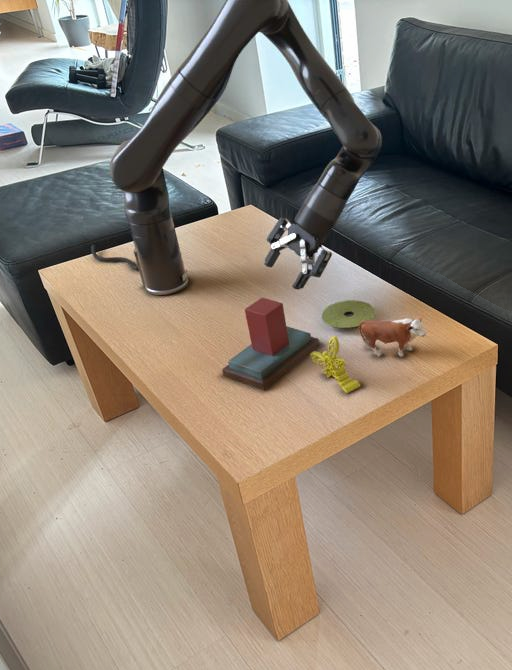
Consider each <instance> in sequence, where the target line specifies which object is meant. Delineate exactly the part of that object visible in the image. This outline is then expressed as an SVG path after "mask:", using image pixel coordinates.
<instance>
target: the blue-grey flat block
mask: <svg viewBox="0 0 512 670" xmlns="http://www.w3.org/2000/svg"><path fill="white" fill-rule="evenodd" d="M286 327H287V333H288V339H289V344H288V345H286V346H285V347H284V348H283V349H281V350H280V351H279V352H277V353H276V354H275V355H274V356H271V355H268V354H265V353H262V352H259V351H256V350H253V349H252V344H249V345H248V346H246V347H245V348H244V349H243V350H241V351H240V352H239V353H237V354H236V355H235V356H233V357H232V358H230V359H229V360H227V361H228V364H227V365H226V366H224V367H223V368H222V369H221V371H222V375H223V377H224V378H226V379H227V378H228V379H231V380H232V381H233V380H234V381H236V382H239V383H242V384H245V385H247V386H250V387H253V388H256V389H260V390H262V391H265V390H267V389H268V388H269V387H270V386H272V385H273V384H274V383H276V381H278V380H279V379H280V378H281V377H283V376H284V375H285V374H286V373H288V372H289V371H290V370H291V369H293V368H294V367H295V366H296V365H297V364H298V363H300V362H301V361H302V360H303V359H305V358H306V357H307V356H309V355H310V354H311V353H312V352H314V351H315V350H316V349H317V348H319V346H320V340H319V338H317V337H314V336H312V333H310V332H308V331H304V330H301V329H297V328H294V327H292V326H287V325H286Z"/></svg>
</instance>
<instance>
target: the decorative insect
mask: <svg viewBox="0 0 512 670" xmlns="http://www.w3.org/2000/svg"><path fill="white" fill-rule="evenodd" d="M339 351H340V341H339V338H338V337H337V336H335V335H334V336H333V335H332V337H330V338H329V341H328V350H325V351H323V352H322V353H321V352H319V351H315V350H313V351H312V352H311V353H309V355H310V358H311V360H312V361H313V362H314V363H315V364H317V365H320V366H321V365H324V367H323V373H324V375H326V377H327V378H330V377H333V378H335V381H336V383H338V386H339V387H340V388H341V389H342V390H343V392H344V393H346V394H349V393H350V392H352V391H354V390H357V389H358V388H360V387H361V384H360V382H359V381H358V380H357V379H352V378H351V377H349V375H348V373H347V371H346V367H347V363H346V362H345V360H344V359H343V358H342V357H339V356H338V354H339ZM317 357H318V358H317Z"/></svg>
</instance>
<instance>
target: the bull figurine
mask: <svg viewBox="0 0 512 670" xmlns="http://www.w3.org/2000/svg"><path fill="white" fill-rule="evenodd" d="M421 321H422V317H419V319H417V318H416V319H414V320H413V319H411V318H403V319H395V320H381V319H371V320H365V321H362V322H361V323H360V324H359V326H358V332H359V335H360V337H361V338H362V341H363V344H364V347H365V348H366V349H367V350H372V352H373V355H374V356H375V355H376V356H377V357H378V358H379V357H382V356H383V354H382V352H381V351H379V350H378V348H377V345H376V341H380V342H382V343H384V345H387V344H391V343H397V344H398V352H397V356H399V357H400V358H405V354H404V352H403V349H404V348H405V350H407V351H408V352H412V351H413V350H414V348H413V347H412V346H411V345H410V343H411V342H413V340H415V339H416V337H420V338H423V337H426V336H427V331H426V330H425V328H424V324H423V323H422V322H421Z"/></svg>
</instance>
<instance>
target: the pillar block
mask: <svg viewBox="0 0 512 670" xmlns="http://www.w3.org/2000/svg"><path fill="white" fill-rule="evenodd" d="M244 313H245V319H246V324H247V329H248V334H249V338H250V343H251V344H252V349H253V350H256V351H259V352H262V353H265V354H268V355H271V356H274V355H275V354H276V353H277V352H279V351H280V350H281V349H283V348H284V347H285V346H286V345H288V344H289V339H288V333H287V327H286V326H287V321H286V316H285V310H284V304H283V302H280V301H276V300H273V299H270V298H266V297H261V298H259V299H257V300H256V301H255V302H253V303H251V304H250V305H248V306H247V307H246V308H244ZM251 344H250V345H251Z"/></svg>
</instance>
